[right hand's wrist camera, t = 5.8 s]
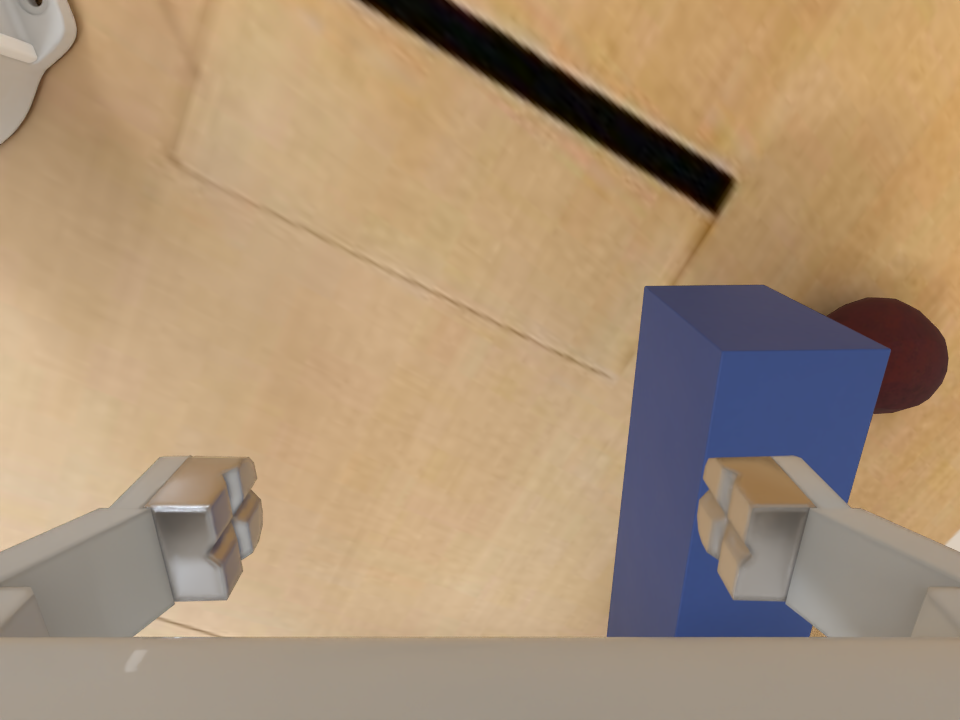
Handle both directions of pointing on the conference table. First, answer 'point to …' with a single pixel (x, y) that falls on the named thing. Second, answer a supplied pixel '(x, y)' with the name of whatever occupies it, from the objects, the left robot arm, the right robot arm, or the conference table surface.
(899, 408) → the potato
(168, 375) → the conference table surface
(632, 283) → the conference table surface
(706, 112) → the conference table surface
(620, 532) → the box
